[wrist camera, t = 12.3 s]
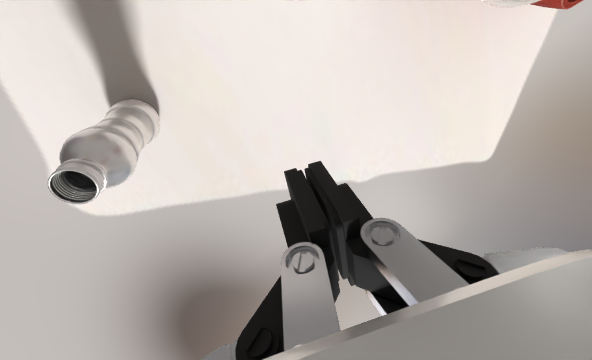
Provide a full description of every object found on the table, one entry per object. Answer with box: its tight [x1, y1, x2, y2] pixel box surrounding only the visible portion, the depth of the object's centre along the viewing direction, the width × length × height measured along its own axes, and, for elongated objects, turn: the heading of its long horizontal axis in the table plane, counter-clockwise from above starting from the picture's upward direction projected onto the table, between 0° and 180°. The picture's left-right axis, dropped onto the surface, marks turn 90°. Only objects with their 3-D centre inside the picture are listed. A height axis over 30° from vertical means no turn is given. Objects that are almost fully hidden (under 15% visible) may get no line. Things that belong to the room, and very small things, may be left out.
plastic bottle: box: [48, 99, 160, 204], centre depth 30 cm, size 6×7×20 cm
